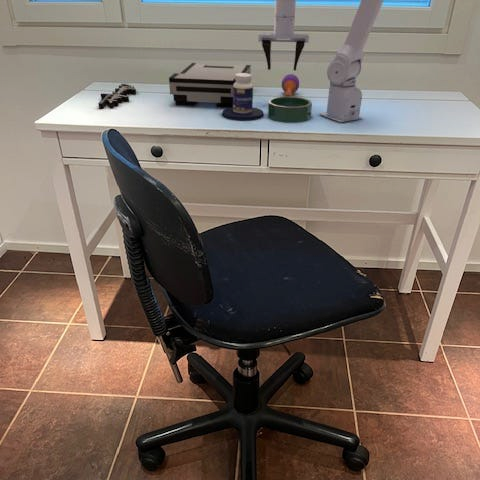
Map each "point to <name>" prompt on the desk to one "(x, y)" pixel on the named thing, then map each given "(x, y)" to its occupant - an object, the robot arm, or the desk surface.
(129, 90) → the dark jagged flat part
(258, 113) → the navy blue disc
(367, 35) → the robot arm
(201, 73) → the game console
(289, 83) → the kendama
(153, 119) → the desk surface
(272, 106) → the ring
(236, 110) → the pill bottle
